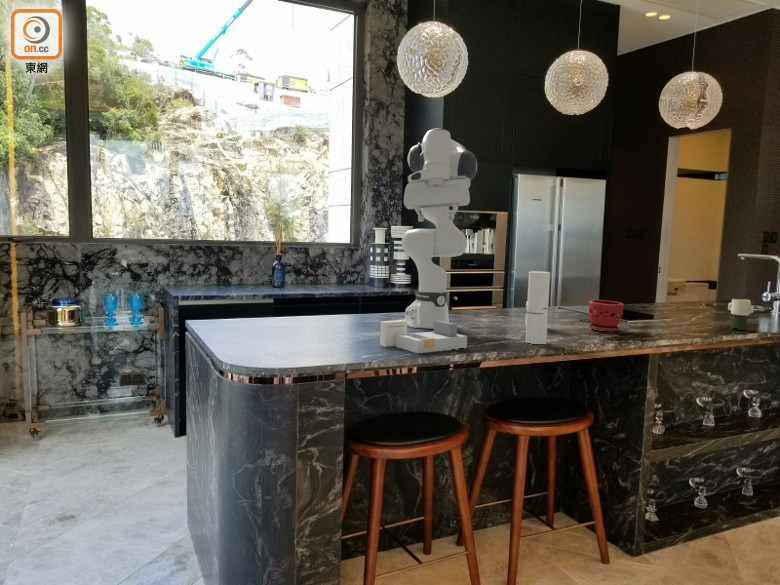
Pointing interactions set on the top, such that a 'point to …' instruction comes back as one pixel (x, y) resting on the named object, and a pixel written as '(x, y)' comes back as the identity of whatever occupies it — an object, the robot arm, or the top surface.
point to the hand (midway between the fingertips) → (436, 220)
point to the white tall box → (537, 307)
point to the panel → (391, 331)
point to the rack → (433, 339)
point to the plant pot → (605, 314)
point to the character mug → (740, 312)
